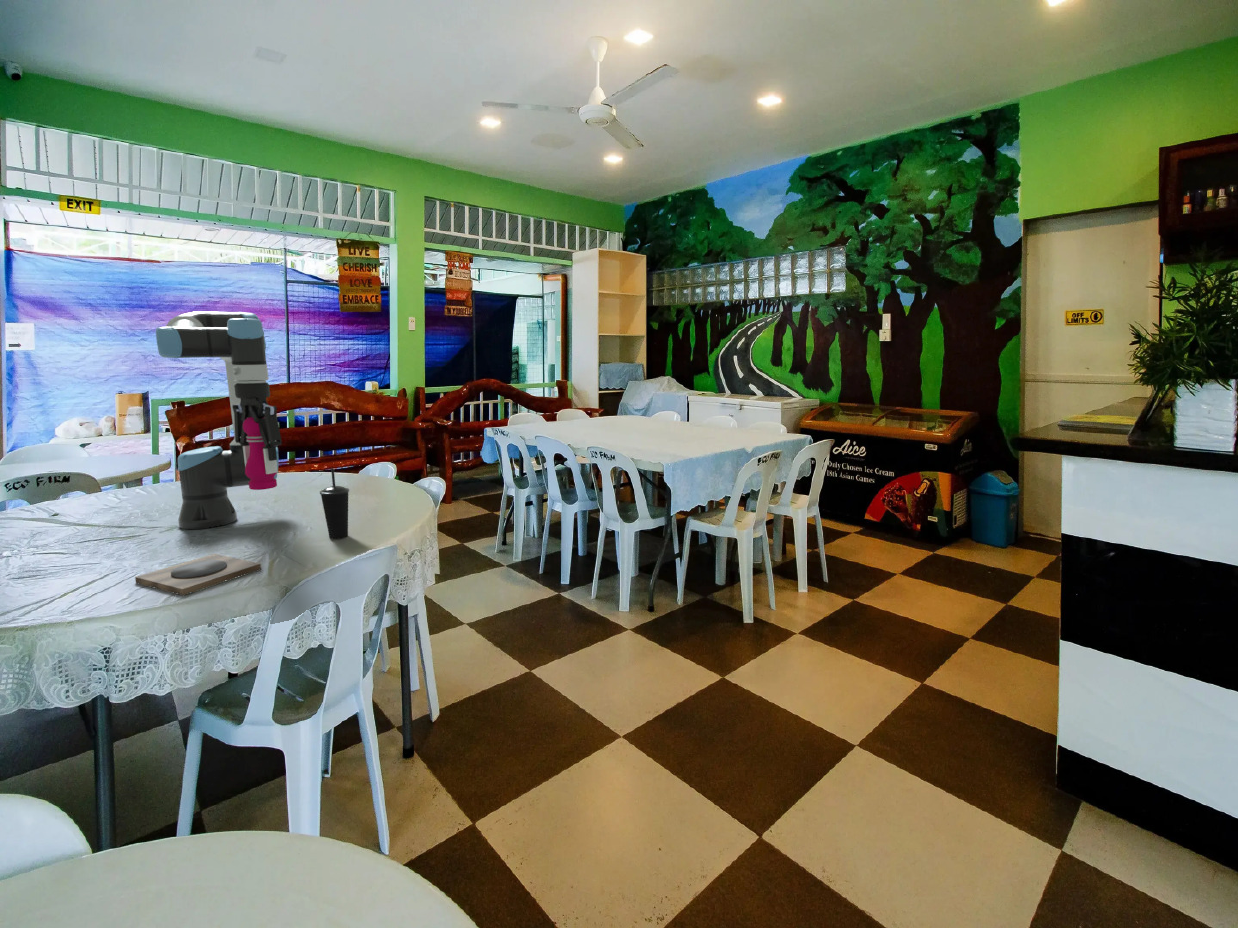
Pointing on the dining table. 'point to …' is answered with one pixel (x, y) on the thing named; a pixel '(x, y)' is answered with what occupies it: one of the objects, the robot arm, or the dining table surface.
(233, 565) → the mount board
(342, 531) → the drinking cup
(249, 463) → the pepper mill
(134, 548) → the dining table surface
